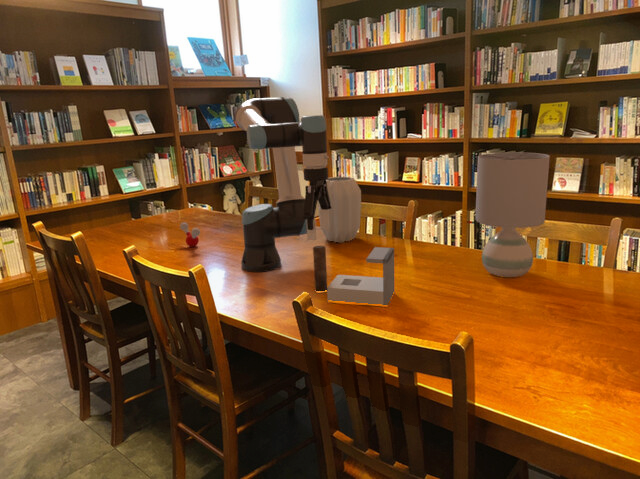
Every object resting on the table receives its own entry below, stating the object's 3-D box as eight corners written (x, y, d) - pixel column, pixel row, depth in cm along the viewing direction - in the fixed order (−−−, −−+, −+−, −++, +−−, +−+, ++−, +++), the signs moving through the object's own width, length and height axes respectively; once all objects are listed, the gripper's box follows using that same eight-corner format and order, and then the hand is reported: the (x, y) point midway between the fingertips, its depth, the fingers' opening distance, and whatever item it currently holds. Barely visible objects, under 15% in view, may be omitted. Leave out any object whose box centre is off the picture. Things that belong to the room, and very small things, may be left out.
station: (327, 302, 154) (325, 256, 150) (338, 288, 165) (336, 245, 161) (387, 307, 148) (387, 259, 144) (394, 293, 159) (394, 248, 155)
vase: (312, 237, 229) (309, 178, 222) (350, 231, 237) (348, 174, 229) (329, 247, 212) (327, 183, 205) (369, 241, 219) (368, 179, 212)
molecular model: (177, 244, 228) (175, 223, 226) (189, 241, 232) (186, 220, 229) (195, 251, 215) (193, 229, 213) (208, 248, 219) (205, 226, 216)
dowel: (313, 292, 162) (311, 248, 158) (317, 288, 166) (315, 245, 162) (325, 293, 161) (323, 249, 157) (328, 289, 165) (327, 245, 161)
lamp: (491, 260, 186) (497, 151, 175) (550, 272, 171) (560, 153, 160) (461, 275, 172) (465, 158, 161) (523, 290, 156) (532, 161, 146)
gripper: (314, 172, 140) (317, 244, 145) (338, 162, 163) (340, 225, 168) (289, 172, 142) (293, 243, 148) (316, 162, 165) (319, 224, 171)
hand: (318, 234), depth 158 cm, fingers open, 13 cm apart
